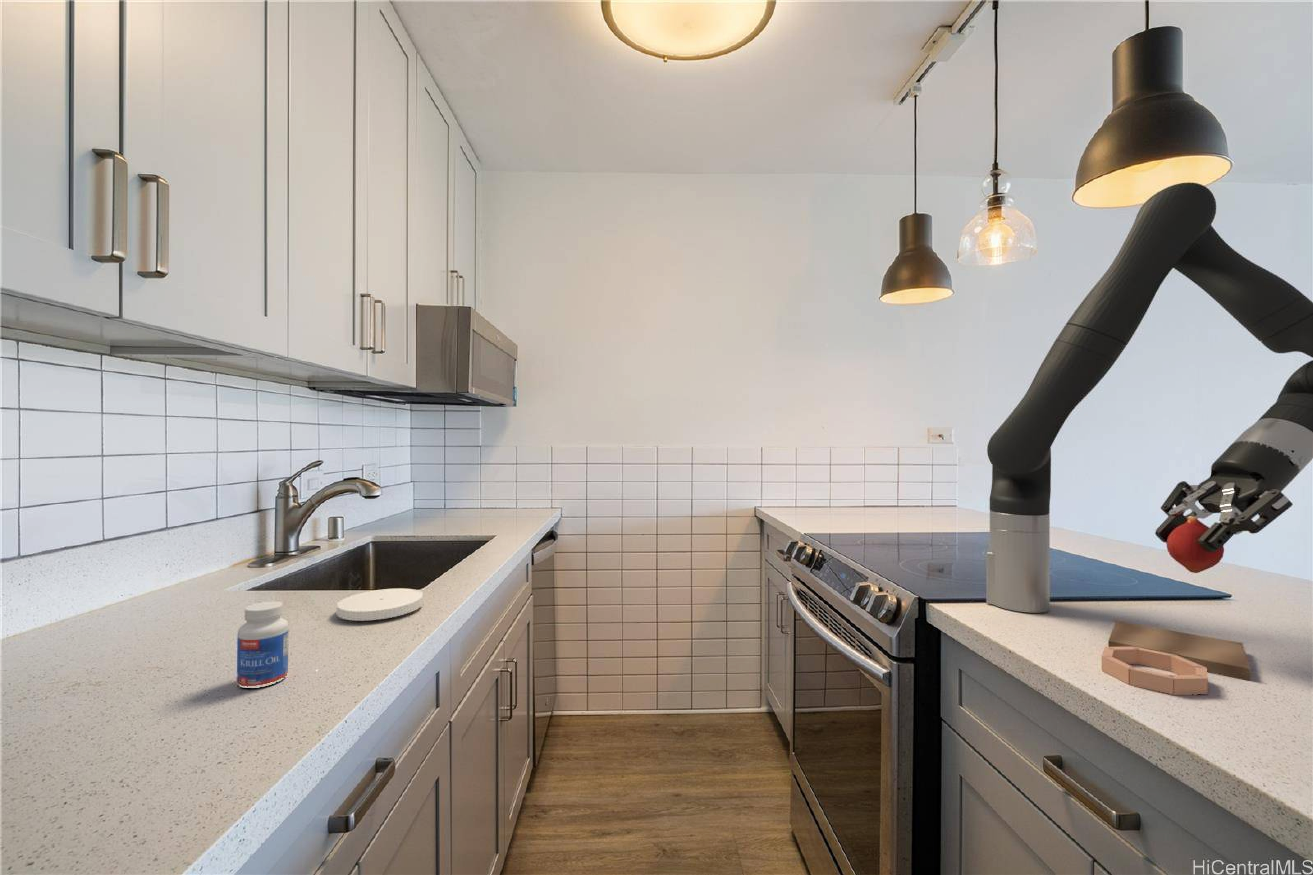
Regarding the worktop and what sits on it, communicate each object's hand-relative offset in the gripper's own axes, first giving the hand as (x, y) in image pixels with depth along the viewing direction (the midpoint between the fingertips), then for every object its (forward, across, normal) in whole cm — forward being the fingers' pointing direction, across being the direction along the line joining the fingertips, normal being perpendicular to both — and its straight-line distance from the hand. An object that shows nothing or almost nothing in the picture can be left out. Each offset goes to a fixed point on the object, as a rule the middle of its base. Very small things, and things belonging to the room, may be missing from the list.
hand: (1182, 542), depth 78 cm
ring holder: (+19, +6, +4) cm, 20 cm away
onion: (+2, 0, +4) cm, 5 cm away
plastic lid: (+99, -23, -77) cm, 127 cm away
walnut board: (+11, -2, +12) cm, 16 cm away
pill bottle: (+100, +5, -78) cm, 127 cm away
